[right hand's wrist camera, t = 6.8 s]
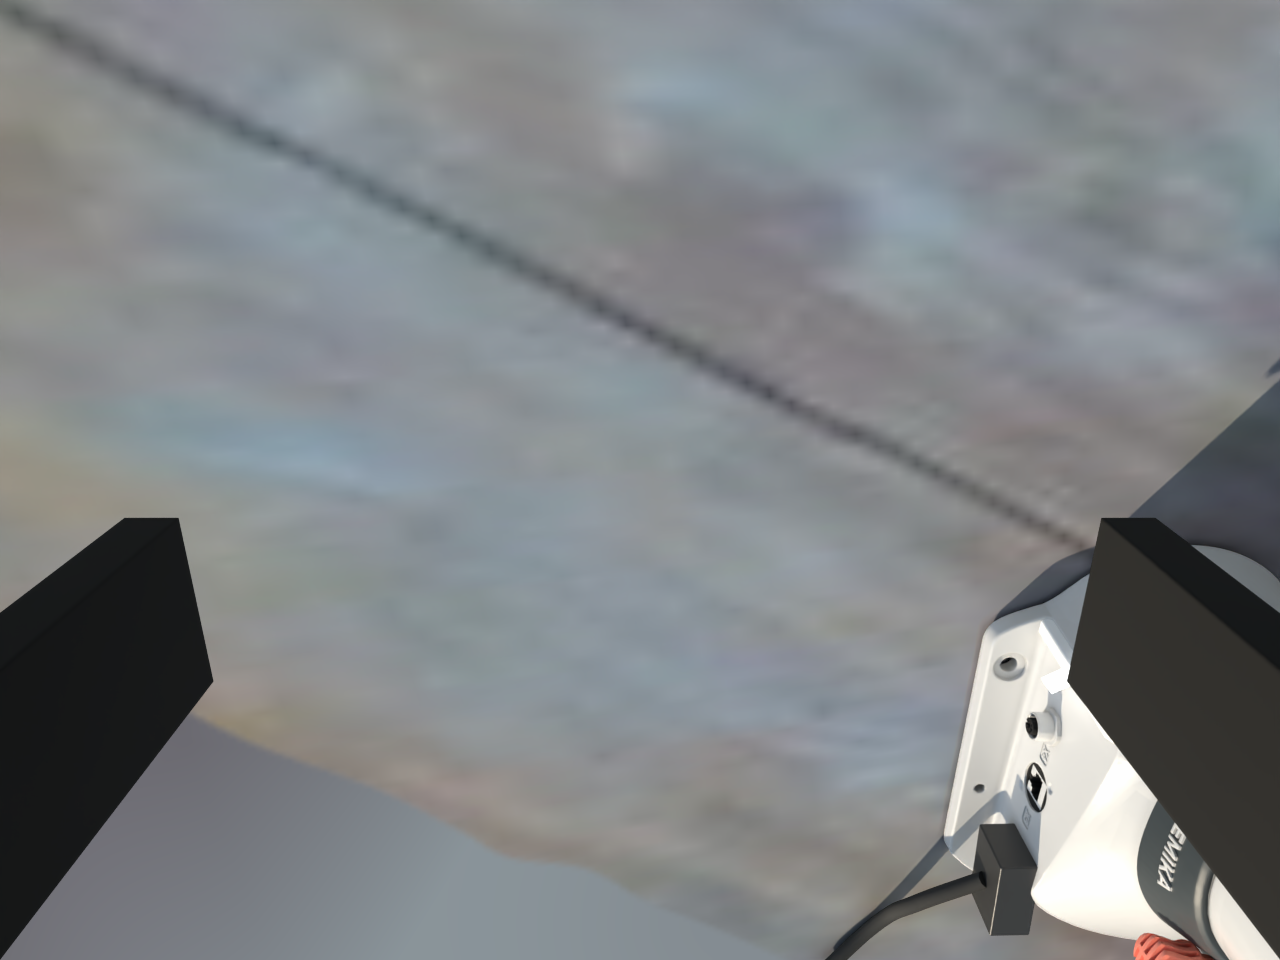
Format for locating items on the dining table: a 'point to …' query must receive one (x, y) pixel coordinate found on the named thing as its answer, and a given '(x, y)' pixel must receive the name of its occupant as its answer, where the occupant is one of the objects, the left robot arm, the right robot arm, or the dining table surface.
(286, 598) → the dining table surface
